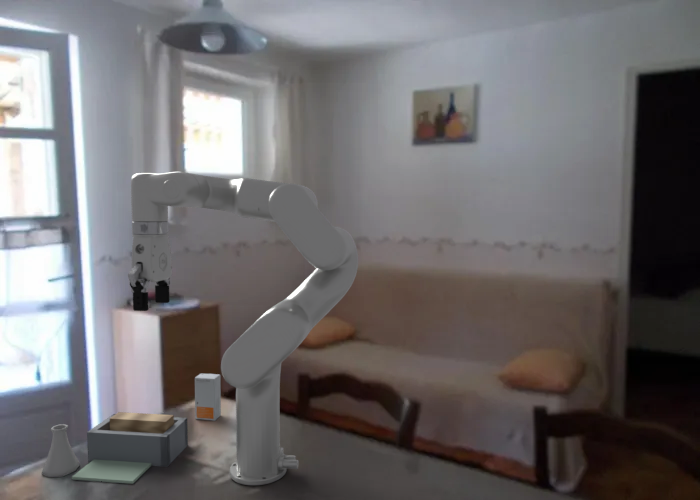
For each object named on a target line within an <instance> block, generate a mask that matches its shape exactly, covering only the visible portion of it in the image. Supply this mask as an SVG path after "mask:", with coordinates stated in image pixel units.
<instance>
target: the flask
mask: <svg viewBox="0 0 700 500" xmlns="http://www.w3.org/2000/svg"><path fill="white" fill-rule="evenodd" d="M68 428H69V425H68V424H64V423H63V424H62V423H61V424H57V425H53V426H52V427H51V428H50V431H51V433H52V439H51V444H50V448H49V451H48V453H47V457H46V460H45V463H44V466H43V468H42V471H41V475H43V476H45V477H48V478H59V477H65V476H66V475H69V474H71V473H74V472H76V471H77V470H78V468H79V467H80V466H81V463H80V461H79V459H78V457H77V456H76V454H75V452H74V450H73V447H72V446H71V444H70V441H69V438H68V437H69V436H68V434H67V433H68V432H67V429H68Z"/></svg>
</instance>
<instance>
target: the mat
mask: <svg viewBox="0 0 700 500" xmlns="http://www.w3.org/2000/svg"><path fill="white" fill-rule="evenodd" d="M151 467H152V466H151V463H141V462H126V461H111V460H96V459H94V460H93V461H91V462H88V463H87V464H86V465H85V466H84V467H82V468H81V469H80V470H79V471H77V472H76V473H74V474H73V475H72V476H71V480H78V481H90V482H101V481H102V483H104V482H105V483H106V482H107V483H116V484H119V483H120V484H131V485H132V484H134V483H135V482H136V481H137V480H138V479H139V478H141V476H142V475H144V474H145V473H146V472H147V471H148V470H149V469H150V468H151Z"/></svg>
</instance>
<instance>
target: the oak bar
mask: <svg viewBox="0 0 700 500" xmlns="http://www.w3.org/2000/svg"><path fill="white" fill-rule="evenodd" d="M115 414H116V415H114V416H113V417H111V418H110V431H125V432H142V433H159V434H164V433H165V432H166V431H167V430H168V429H169V428H170V427H171V426H173V425H174V417H175V416H174V414H159V413H142V412H141V413H140V412H124V411H123V412H122V411H118V412H117V413H115Z"/></svg>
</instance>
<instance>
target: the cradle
mask: <svg viewBox="0 0 700 500" xmlns="http://www.w3.org/2000/svg"><path fill="white" fill-rule="evenodd" d="M116 414H117V413H113V414H111V415H110V416H109V417H107V418H106V419H104V420H102V421H101V422H100V423H98V424H97V425H95V426H93V427H92V428H90V429H89V430H88V431H87V432H86V440H87V442H86V446H87V462H88V463H90V462H91V461H93V460H94V459H96V460H111V461H126V462H141V463H151V467H164V468H167V467H168V466H169V465H171V463H172V462H174V460H176V458H178V456H180V454H181V453H182V452H183V451H184V450H185V449H186V448H187V447H188V446H189V445H188V444H189V441H188V440H189V438H188V437H189V436H188V435H189V434H188V433H189V432H188V417H179V416H178V417H175V416H174V425H173V426H171V427H170V428H169V429H168V430H167V431H166V432H165V433H164V434H159V433H142V432H125V431H110V418H111V417H113V416H114V415H116Z"/></svg>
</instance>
